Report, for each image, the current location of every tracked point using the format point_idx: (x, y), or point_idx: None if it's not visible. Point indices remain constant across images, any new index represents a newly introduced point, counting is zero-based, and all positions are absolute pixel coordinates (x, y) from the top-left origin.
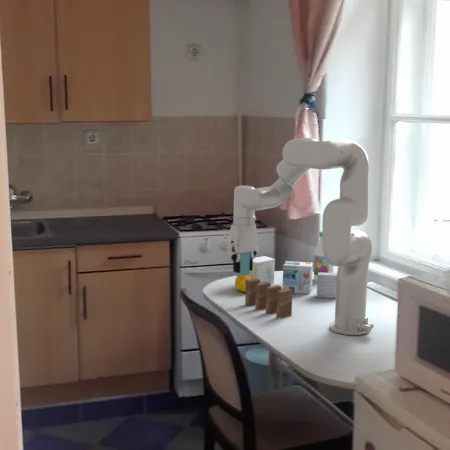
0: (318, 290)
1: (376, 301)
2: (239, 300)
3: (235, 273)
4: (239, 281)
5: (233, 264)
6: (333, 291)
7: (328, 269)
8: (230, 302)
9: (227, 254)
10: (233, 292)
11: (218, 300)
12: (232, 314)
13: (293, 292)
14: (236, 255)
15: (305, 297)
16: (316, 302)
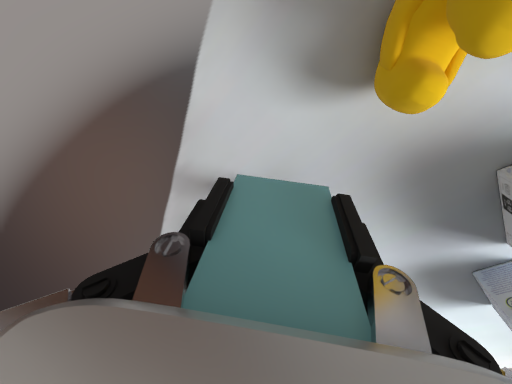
0: (489, 295)
1: (505, 352)
2: (277, 132)
3: (236, 178)
4: (425, 8)
5: (186, 223)
6: (503, 318)
7: None
8: (233, 128)
9: (12, 321)
10: (362, 7)
11: (212, 73)
12: (169, 210)
13: (502, 205)
14: (187, 298)
15: (456, 251)
16: (417, 286)
